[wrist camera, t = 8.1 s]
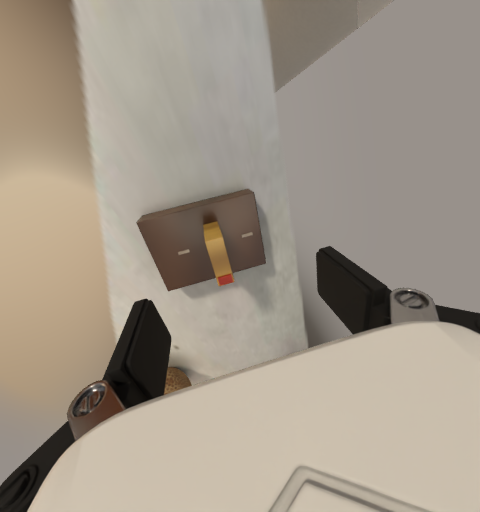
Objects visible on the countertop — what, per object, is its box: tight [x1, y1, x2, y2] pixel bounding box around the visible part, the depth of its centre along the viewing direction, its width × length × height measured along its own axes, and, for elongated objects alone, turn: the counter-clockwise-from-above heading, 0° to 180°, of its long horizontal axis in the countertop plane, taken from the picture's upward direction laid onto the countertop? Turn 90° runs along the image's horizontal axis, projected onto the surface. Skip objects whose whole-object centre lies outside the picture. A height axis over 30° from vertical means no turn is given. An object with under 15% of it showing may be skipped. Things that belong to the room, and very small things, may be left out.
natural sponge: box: [164, 367, 192, 395], centre depth 35 cm, size 9×9×10 cm
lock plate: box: [136, 189, 266, 291], centre depth 28 cm, size 14×10×3 cm
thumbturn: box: [203, 221, 234, 286], centre depth 24 cm, size 6×2×6 cm, turn 12°
